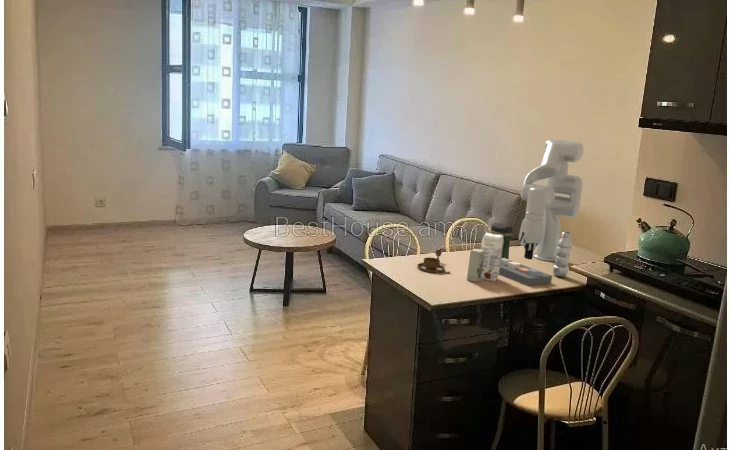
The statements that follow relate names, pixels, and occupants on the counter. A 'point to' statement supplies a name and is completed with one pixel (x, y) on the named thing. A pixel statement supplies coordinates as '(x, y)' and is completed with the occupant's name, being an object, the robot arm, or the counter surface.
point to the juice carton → (491, 256)
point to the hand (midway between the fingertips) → (528, 258)
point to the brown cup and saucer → (432, 264)
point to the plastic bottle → (562, 255)
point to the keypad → (524, 276)
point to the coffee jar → (506, 232)
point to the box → (475, 265)
